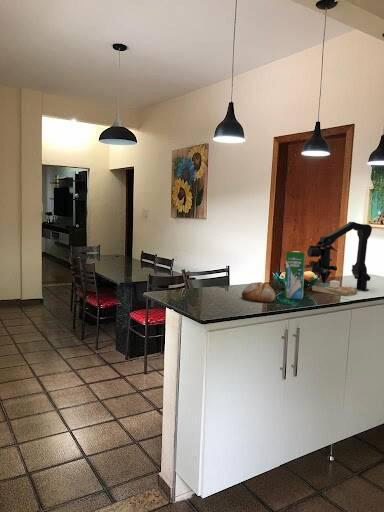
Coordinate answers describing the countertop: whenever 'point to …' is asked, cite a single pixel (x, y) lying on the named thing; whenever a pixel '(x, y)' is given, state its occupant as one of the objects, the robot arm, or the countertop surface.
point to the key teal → (324, 284)
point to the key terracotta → (345, 288)
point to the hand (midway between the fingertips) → (323, 283)
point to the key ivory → (335, 284)
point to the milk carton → (294, 275)
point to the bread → (258, 292)
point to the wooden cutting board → (334, 290)
